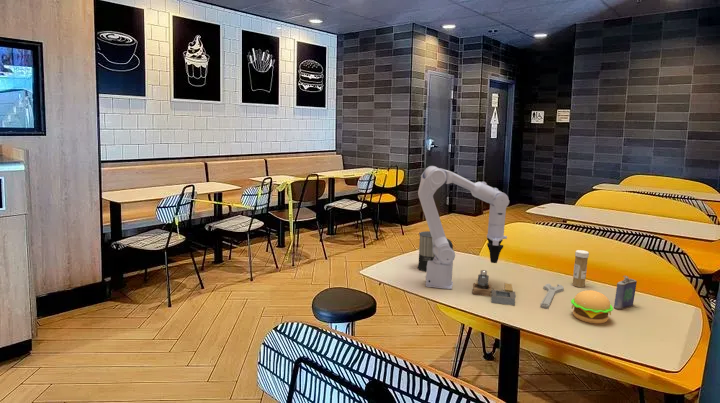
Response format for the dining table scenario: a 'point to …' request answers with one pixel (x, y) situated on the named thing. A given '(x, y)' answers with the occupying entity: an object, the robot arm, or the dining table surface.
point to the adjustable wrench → (550, 295)
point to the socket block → (503, 297)
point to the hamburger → (591, 307)
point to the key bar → (508, 287)
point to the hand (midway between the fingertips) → (493, 259)
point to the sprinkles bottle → (580, 268)
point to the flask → (625, 293)
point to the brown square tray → (481, 290)
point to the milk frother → (426, 250)
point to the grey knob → (483, 280)
